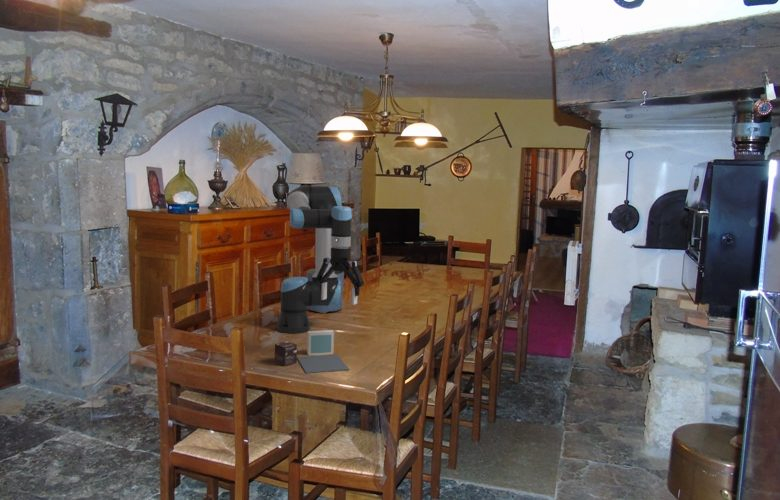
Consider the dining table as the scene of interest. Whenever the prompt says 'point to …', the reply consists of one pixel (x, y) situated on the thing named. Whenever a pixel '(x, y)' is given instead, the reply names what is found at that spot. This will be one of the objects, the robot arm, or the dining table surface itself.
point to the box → (285, 353)
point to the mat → (322, 363)
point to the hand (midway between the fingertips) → (339, 301)
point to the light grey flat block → (320, 342)
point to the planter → (327, 308)
